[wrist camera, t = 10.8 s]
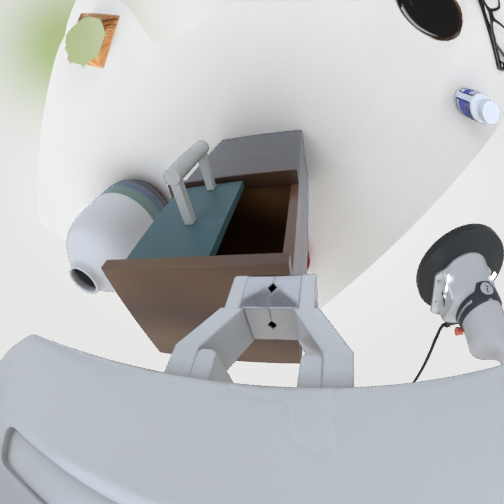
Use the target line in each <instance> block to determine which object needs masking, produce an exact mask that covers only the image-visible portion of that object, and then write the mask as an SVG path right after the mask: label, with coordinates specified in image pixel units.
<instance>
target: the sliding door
mask: <svg viewBox="0 0 504 504" xmlns="http://www.w3.org/2000/svg"><path fill="white" fill-rule="evenodd" d="M208 150H209V146H208V143H207V142H205V141H203V140H199V141H197V142H196V143H195V144H194V145H193V146H192V147H190V148H189V149H188V150H187V151H186V152H185V153H184V154H183V155H182V156H181V157H180V158H178V159H177V160H176V161H175V162H174V163H173V164H172V165H171V166H170V167H169V168H168V169H167V170H166V171H165V172H164V175H163V177H164V180H165V182H166V183H167V184H168V185H170V186H171V188H172V191H173V194H174V196H173V197H172V199H171V200H170V201H169V202H168V204H167V205H166V206H165V207H164V209H163V210H162V211H161V212H160V214H159V215H158V216H157V218H156V219H155V220H154V222H153V223H152V224H151V226H150V227H149V228H148V230H147V231H146V232H145V234H144V235H143V236H142V238H141V239H140V240H139V242H138V243H137V244H136V246H135V247H134V249H133V250H132V251H131V253H130V254H129V256H128V257H127V259H143V258H168V257H193V256H216V253H217V251H218V248H219V246H220V244H221V241H222V239H223V236H224V234H225V232H226V229H227V227H228V225H229V222H230V220H231V217H232V215H233V213H234V210H235V208H236V206H237V203H238V201H239V199H240V196H241V194H242V192H243V190H244V183H243V181H235V182H227V183H219V184H215V180H214V177H213V173H212V170H211V166H210V162H209V159H208V155H207V151H208ZM197 162H199V165H200V169H201V172H202V175H203V179H204V182H205V185H204V186H197V187H191V188H186V187H185V184H184V181H183V178H184V177H185V176H186V175H187V173H188V172H189V171H190V170H191V169H192V168H193V167H194V166H195V165H196V163H197Z"/></svg>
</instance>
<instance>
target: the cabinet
mask: <svg viewBox="0 0 504 504" xmlns="http://www.w3.org/2000/svg"><path fill="white" fill-rule="evenodd" d="M208 159H209V162H210V166H211V170H212V173H213V177H214V180H215V184H219V183H227V182H235V181H243V183H244V190H243V192H242V194H241V196H240V199H239V201H238V203H237V206H236V208H235V210H234V213H233V215H232V217H231V220H230V222H229V225H228V227H227V229H226V232H225V234H224V236H223V239H222V241H221V244H220V246H219V248H218V251H217V253H216V256H193V257H168V258H143V259H117V260H106V262H105V263H104V264H103V266H102V267H101V269H102V271H103V272H104V274H105V276H106V277H107V279H108V280H109V282H110V283H111V285H112V287H113V288H114V290H115V291H116V293H117V294H118V295H119V297H120V298H121V300H122V301H123V303H124V304H125V306H126V307H127V308H128V310H129V311H130V313H131V314H132V316H133V317H134V318H135V320H136V321H137V322H138V324H139V325H140V326H141V328H142V329H143V330H144V332H145V333H146V334H147V336H148V337H149V338H150V340H151V341H152V342H153V343H154V345H155V346H156V347H157V348H158V350H159V351H160V352H163V353H170V354H172V352H173V350H174V348H175V345H176V344H177V343H178V342H179V341H181V340H182V339H183V338H184V337H186V336H187V335H188V334H189V333H191V332H192V331H193V330H194V329H195V328H197V327H198V326H199V325H200V324H202V323H203V322H204V321H205V320H206V319H208V318H209V317H210V316H211V315H213V314H214V313H215V312H216V311H217V310H219V309H220V308H225V305H226V302H227V299H228V296H229V293H230V290H231V287H232V284H233V281H234V278H235V277H236V276H250V275H260V276H276V275H302V274H307V255H308V176H307V168H306V159H305V151H304V144H303V136H302V130H297V131H286V132H277V133H268V134H260V135H253V136H246V137H239V138H233V139H227V140H222V141H221V142H220V143H219V144H218V145H217V146H216V148H215V149H214V150H213V151H212V152H211V153H210V154H209V155H208ZM184 184H185V187H186V188H191V187H197V186H204V185H205V182H204V179H203V175H202V172H201V169H200V166H199V167H198V168H197V169H196V170H195V171H194V173H193V174H192V175H191V176H190V177H189V179H188V180H187V181H184ZM168 188H169V190H170V193H171V196H172V197H173V196H174V194H173V191H172V188H171V186H170V185H168ZM301 357H302V347H301V345H300V343H299V341H298V340H279V339H254V341H253V342H252V343H251V344H250V345H249V347H248V348H247V349H246V350H245V351H244V352H243V353H242V354H241V356H240V357H239V358H238V359H237V360H236V361H247V362H268V363H300V360H301Z"/></svg>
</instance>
